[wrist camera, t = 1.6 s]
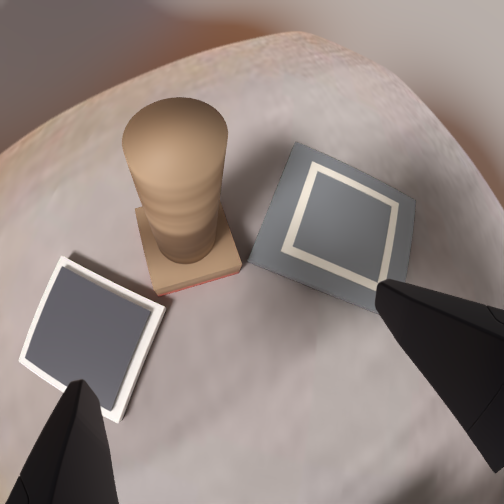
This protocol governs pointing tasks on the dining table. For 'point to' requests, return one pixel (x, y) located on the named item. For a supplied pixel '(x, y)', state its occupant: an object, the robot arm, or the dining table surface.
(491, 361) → the robot arm
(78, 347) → the ink pad
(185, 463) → the dining table surface
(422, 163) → the dining table surface
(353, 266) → the form board
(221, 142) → the stamp
